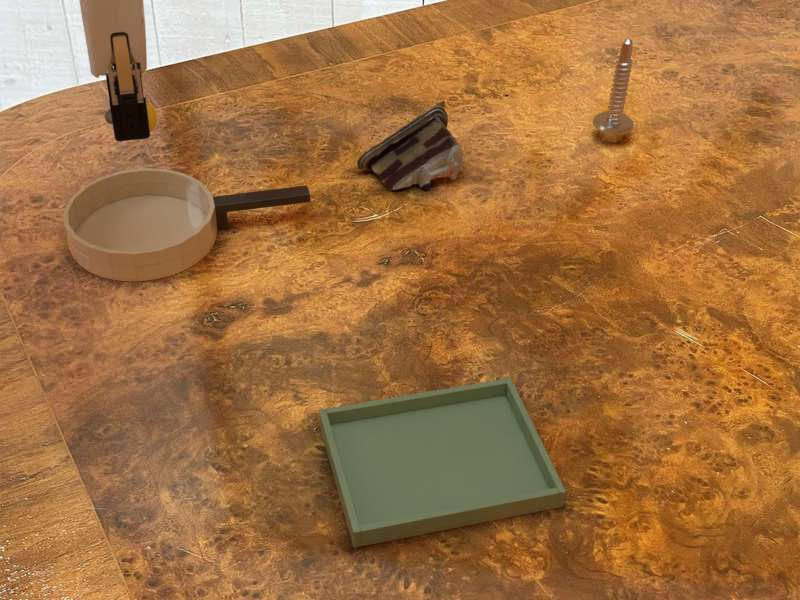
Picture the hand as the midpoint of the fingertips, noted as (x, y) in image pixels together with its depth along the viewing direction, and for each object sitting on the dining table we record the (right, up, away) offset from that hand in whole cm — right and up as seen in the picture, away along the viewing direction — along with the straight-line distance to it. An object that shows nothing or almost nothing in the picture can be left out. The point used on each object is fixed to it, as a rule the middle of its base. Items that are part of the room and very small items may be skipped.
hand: (130, 122), depth 101 cm
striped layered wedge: (+27, -3, +21) cm, 34 cm away
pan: (-1, -10, +10) cm, 14 cm away
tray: (+29, -30, -12) cm, 44 cm away
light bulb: (0, -1, +1) cm, 1 cm away
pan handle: (+11, -8, +13) cm, 19 cm away
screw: (+51, +3, +28) cm, 58 cm away
